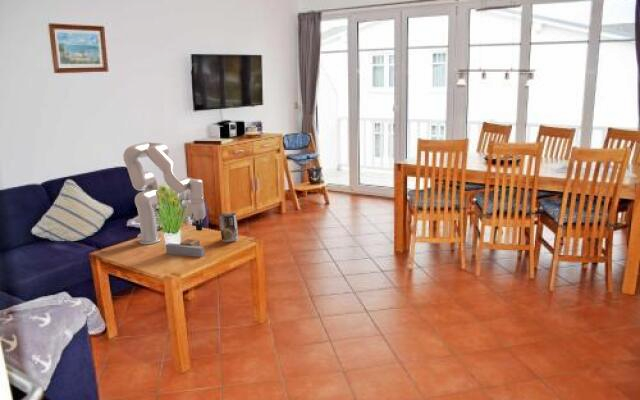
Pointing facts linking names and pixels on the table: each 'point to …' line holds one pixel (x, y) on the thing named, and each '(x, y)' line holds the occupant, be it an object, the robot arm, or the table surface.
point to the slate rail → (185, 250)
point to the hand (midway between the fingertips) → (199, 230)
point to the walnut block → (190, 242)
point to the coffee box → (228, 227)
